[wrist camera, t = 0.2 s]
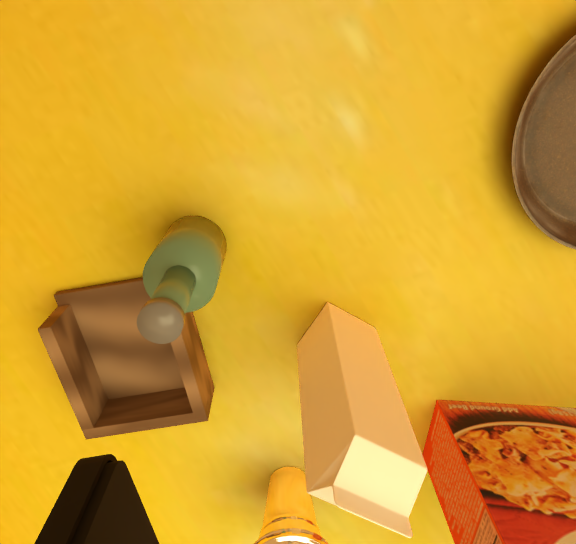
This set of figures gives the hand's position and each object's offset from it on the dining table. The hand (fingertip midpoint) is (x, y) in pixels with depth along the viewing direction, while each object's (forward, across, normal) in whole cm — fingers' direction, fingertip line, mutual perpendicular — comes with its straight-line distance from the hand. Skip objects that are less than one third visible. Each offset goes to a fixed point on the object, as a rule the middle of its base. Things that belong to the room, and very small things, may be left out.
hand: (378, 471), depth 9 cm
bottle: (+36, +11, +6) cm, 38 cm away
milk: (+37, 0, +19) cm, 41 cm away
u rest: (+36, +20, +16) cm, 44 cm away
